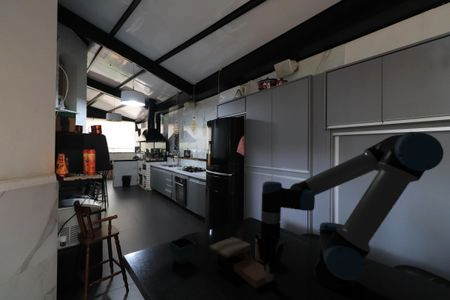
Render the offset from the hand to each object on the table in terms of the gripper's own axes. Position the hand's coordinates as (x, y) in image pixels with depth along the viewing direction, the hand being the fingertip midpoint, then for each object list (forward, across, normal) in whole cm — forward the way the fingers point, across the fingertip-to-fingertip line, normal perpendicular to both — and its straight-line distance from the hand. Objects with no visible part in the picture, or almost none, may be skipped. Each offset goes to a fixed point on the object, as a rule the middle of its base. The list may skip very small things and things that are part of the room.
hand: (268, 280), depth 83 cm
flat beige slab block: (+2, +22, 0) cm, 22 cm away
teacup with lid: (+2, +13, -16) cm, 21 cm away
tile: (+2, +8, 0) cm, 8 cm away
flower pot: (+2, +38, +15) cm, 41 cm away
